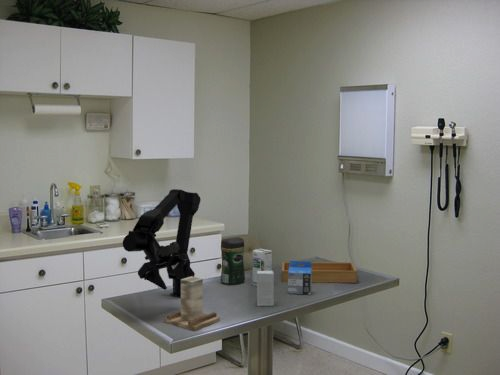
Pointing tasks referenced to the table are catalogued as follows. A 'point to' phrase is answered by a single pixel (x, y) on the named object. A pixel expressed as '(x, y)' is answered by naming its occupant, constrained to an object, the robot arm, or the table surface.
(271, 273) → the skincare box
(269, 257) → the syrup box
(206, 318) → the slotted oak board
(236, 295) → the table surface
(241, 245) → the coffee jar
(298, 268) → the label tape box
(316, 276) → the tray
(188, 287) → the maple block
